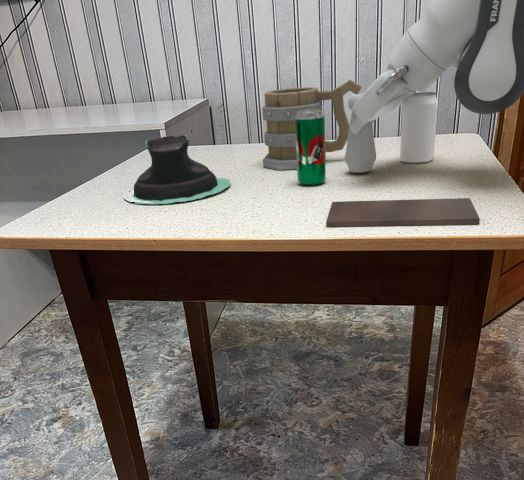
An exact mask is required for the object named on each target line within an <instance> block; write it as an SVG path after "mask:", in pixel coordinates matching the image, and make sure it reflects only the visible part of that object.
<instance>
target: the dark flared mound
mask: <svg viewBox="0 0 524 480" xmlns="http://www.w3.org/2000/svg"><path fill="white" fill-rule="evenodd" d="M144 144H145V146H146V149H147V151H148V153H149V156H150V158H151V159H150V160H151V165H150V166H149V167H148V168H147V169H146V170H144V171H143V172H142V173H141V174H140V175H139V176H138V177H137V179H136V181H135V183H134V184H133V189H134V195H133V196H132V197H133V198H134V199H135V200H141V201H149V202H153V203H143V202H135V203H134V204H139V205H167V204H173V203H181V202H183V203H185V202H188V201H194V200H199V199H202V198H205V197H207V196H211V195H215V194H218V193H220V192H223V191H224V190H226V189H227V188H228V187H230V185H231V181H230V179H228V178H225V177H217V176H216V175H215V174H214V172H212V171H211V170H210V169H209V167H208V166H207V165H204V164H203V163H201V162H199V161H196V160H194V159H193V158H191V157H190V156H189V154H188V153H189V152H188V149H189V145H190V140H189V135H187V134H185V135H179V136H174V135H169V136H163V137H160V138H156V139H147V140H146V141H144Z"/></svg>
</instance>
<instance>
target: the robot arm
mask: <svg viewBox="0 0 524 480" xmlns="http://www.w3.org/2000/svg"><path fill="white" fill-rule="evenodd" d="M387 60H388V62H389V64H387V66H386V67H385V71H383V72H382V73H381V74H380V75H379V76H378V77H377V78H375V80H374V81H373V82H372V83H371V84H370V85H369V86H368V88H366V89H365V91H364V92H363V93H361V94H362V95H361V97H360V98H359V99H358V100H357V101H356V102H355V104H354V105H353V107H352V110H351V112H352V111H353V112H354V113H355V114H356V116H357V118H356V120H355V121H354V122H353V124H352V125H351V126H350V131H351V132H352V133H353V134H355V135H356V134H358V133H359V132H360V131H361V130H362V129H363V128H364V126H365V125H366V124H367V123H368V122H370V121H371V123H372V124H373V123H374V122H375V121H376V120H377V119H379V118H380V117H382V116H384V115H386V114H387V113H389V112H392V111H393V110H395V109H397V108H399V107H400V106H401V105H403V103H404V102H405V101H406V100H407V99H408V98H409V97H410V96H412V95H413V94H414V93H416V92H417V91H418V92H428V90H429V89H430V88H431V87H432V85H433V84H434V83H435V82H436V81H437V80H438V79H439V78H440V77H441V75H443V74H444V72H445V71H446V70H447V69H448V68H449V67H451V66H453V67H454V68H455V75H454V83H453V85H454V86H453V88H454V92H455V95H456V98H457V100H458V101H459V103H460V104H461V105H462V106H463V107H464V108H465V109H467V110H468V111H470V112H472V113H475V114H479V115H492V114H498V113H500V112H503V111H505V110H506V109H509V108H510V107H511V106H513V105H514V104H515V103H516V102H517V101H518V100H519V99H520V98H521V97H522V96H523V94H524V0H431V1H430V2H429V3H428V5H427V7H426V9H425V10H424V13H423V14H422V16H421V17H420V18H419V19H418V20H417V21H415V22H414V23H413V24H412V25H410V26H409V28H408V29H406V31H405V32H404V33H403V35H402V36H401V37H400V38H399V40H398V41H397V42H396V43H395V44H394V45H393V47H392V48H391V49H390V50H389V51H388V53H387Z"/></svg>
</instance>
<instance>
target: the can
mask: <svg viewBox="0 0 524 480" xmlns="http://www.w3.org/2000/svg"><path fill="white" fill-rule="evenodd" d="M438 108H439V101H438V98H437V92H435V91H426V92H419V91H418V92H417V91H416V92H415V93H414V94H413V95H412V96H410V97H409V98H408V99H407V100H406V101H405V102H404V103H402V107H401V125H400V127H401V128H400V151H399V160H400V161H401V162H402V163H405V164H425V163H430V162H432V160H433V159H434V157H435V149H436V148H435V146H436V135H437V134H436V133H437V122H438Z"/></svg>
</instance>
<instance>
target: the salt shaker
mask: <svg viewBox="0 0 524 480" xmlns="http://www.w3.org/2000/svg"><path fill="white" fill-rule="evenodd" d="M362 94H363V93H358V94H355V93H354V94H352V95H350V96H349V98H348V110H351V115H350V122H349V124H350V126H351V125H352V124H353V122H354V121H355V120H356V118H357V116H356V114H355V113H354V112H353V111H352V107H353V105H354V104H355V102H356V101H357V100H358V99H359V98H360V97H361V95H362ZM345 148H346V149H345V155H344V161H345V163H346V165H347V168H348V170H349V172H351V173H356V174H361V173H362V174H363V173H368V172H371V171H372V170H373V166H374V165H375V162H376V159H377V151H376V144H375V137H374V131H373V123H371V121H370V122H368V123H367V124H366V125H365V126H364V128H363V129H362V130H361V131H360V132H359V133H358V134H356V135H355V134H353V133H352V132H351V131H350V128H349V134H348V140H347V142H346V147H345Z"/></svg>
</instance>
